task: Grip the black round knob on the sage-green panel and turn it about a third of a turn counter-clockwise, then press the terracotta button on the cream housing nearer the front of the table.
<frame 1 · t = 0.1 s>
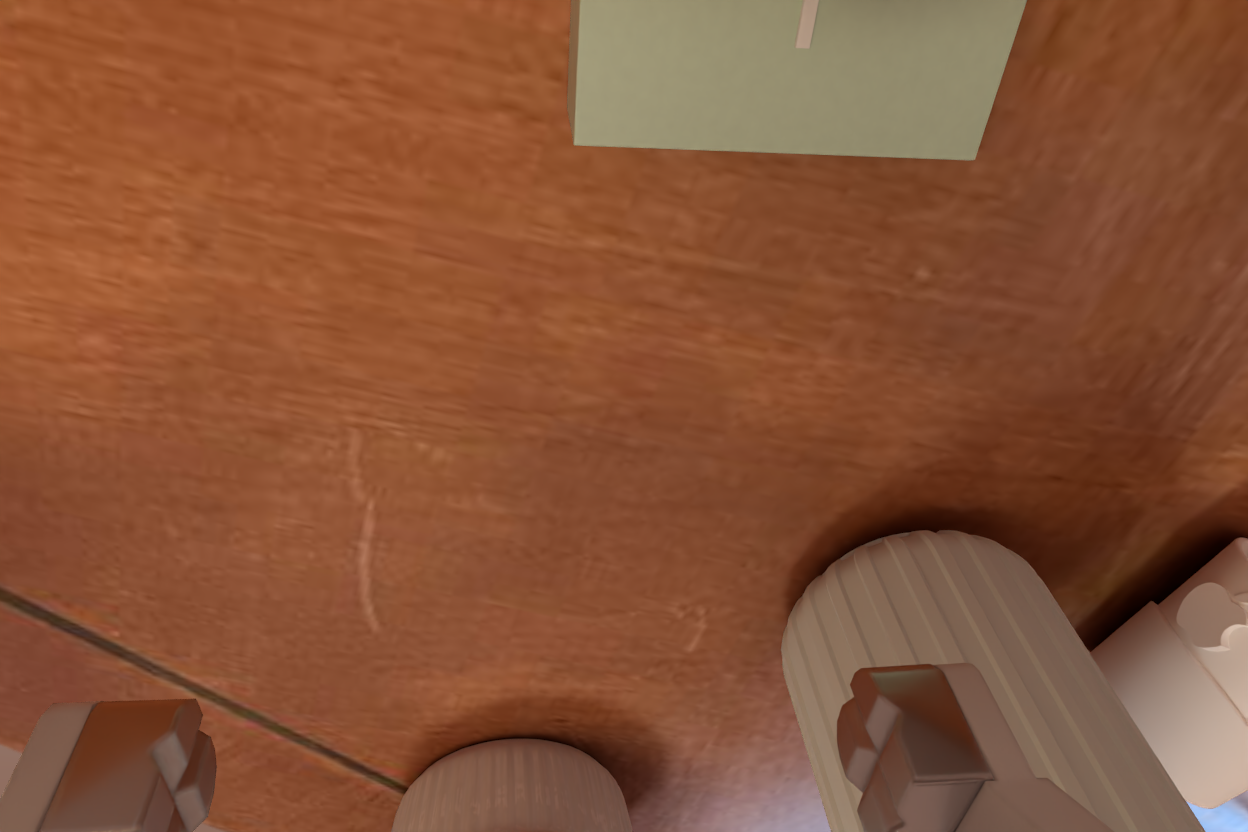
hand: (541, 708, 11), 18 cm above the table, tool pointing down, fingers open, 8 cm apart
vase: (890, 588, 39), on the table
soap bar: (1188, 606, 43), on the table
ramekin: (512, 789, 46), on the table
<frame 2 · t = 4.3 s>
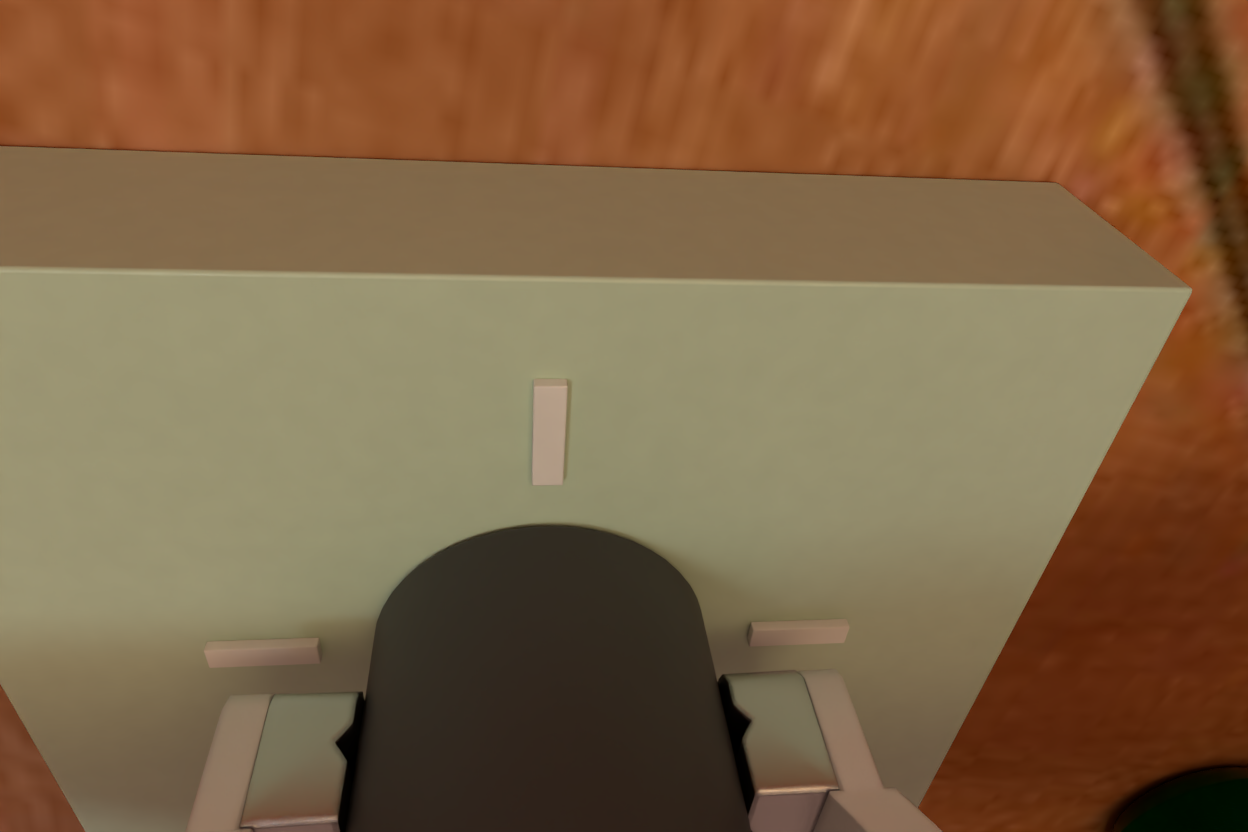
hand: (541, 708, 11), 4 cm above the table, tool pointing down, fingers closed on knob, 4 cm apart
soda can: (1185, 800, 24), on the table
panel: (535, 489, 14), on the table
knob: (548, 789, 10), point 5 cm above the table, hinge at 0.1°, touching gripper
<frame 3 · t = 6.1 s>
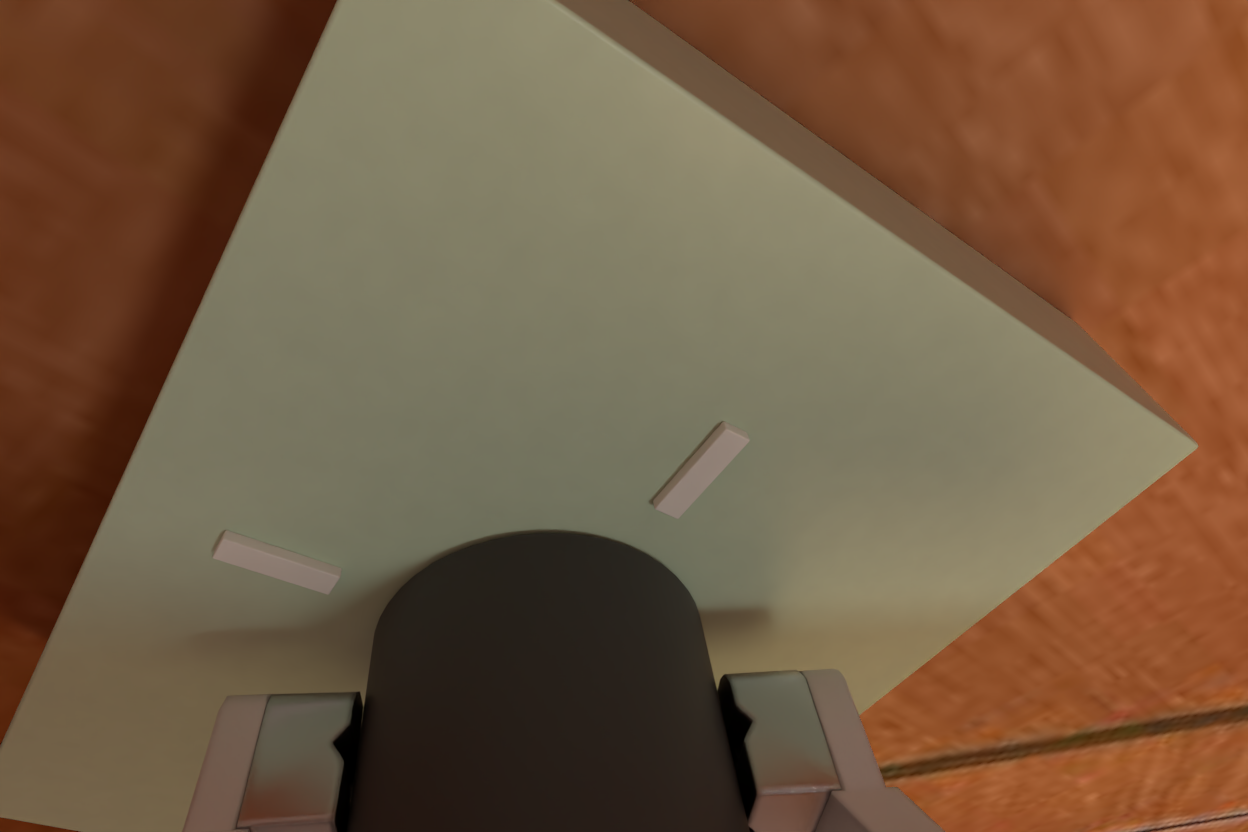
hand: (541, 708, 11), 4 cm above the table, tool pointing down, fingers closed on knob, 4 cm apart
panel: (533, 494, 14), on the table
knob: (547, 796, 10), point 5 cm above the table, hinge at 120.9°, touching gripper
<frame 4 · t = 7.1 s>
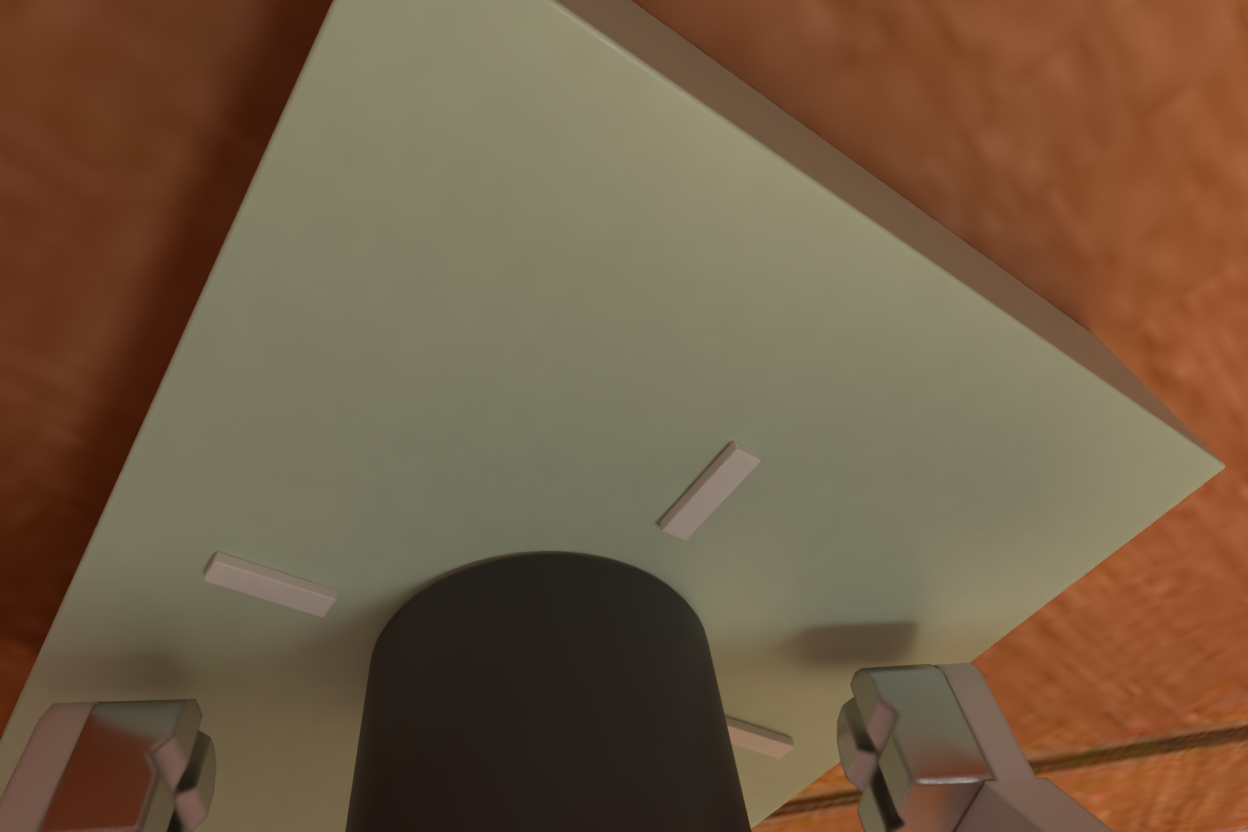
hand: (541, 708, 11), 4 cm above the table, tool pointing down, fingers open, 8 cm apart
panel: (536, 510, 14), on the table
knob: (549, 829, 10), point 5 cm above the table, hinge at 119.2°
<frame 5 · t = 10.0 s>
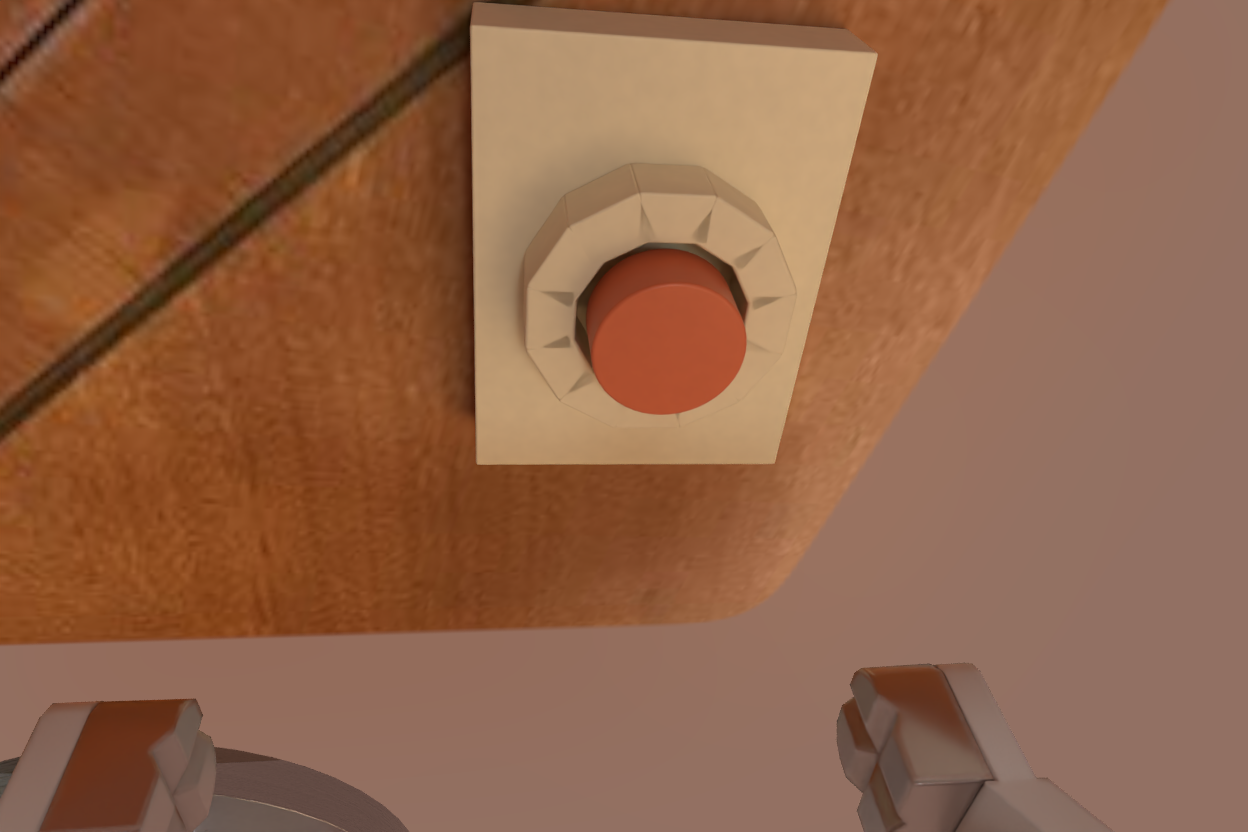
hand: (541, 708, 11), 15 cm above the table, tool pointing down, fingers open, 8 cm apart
button: (664, 333, 21), point 4 cm above the table, slide at 0.1 cm
button box: (640, 247, 24), on the table
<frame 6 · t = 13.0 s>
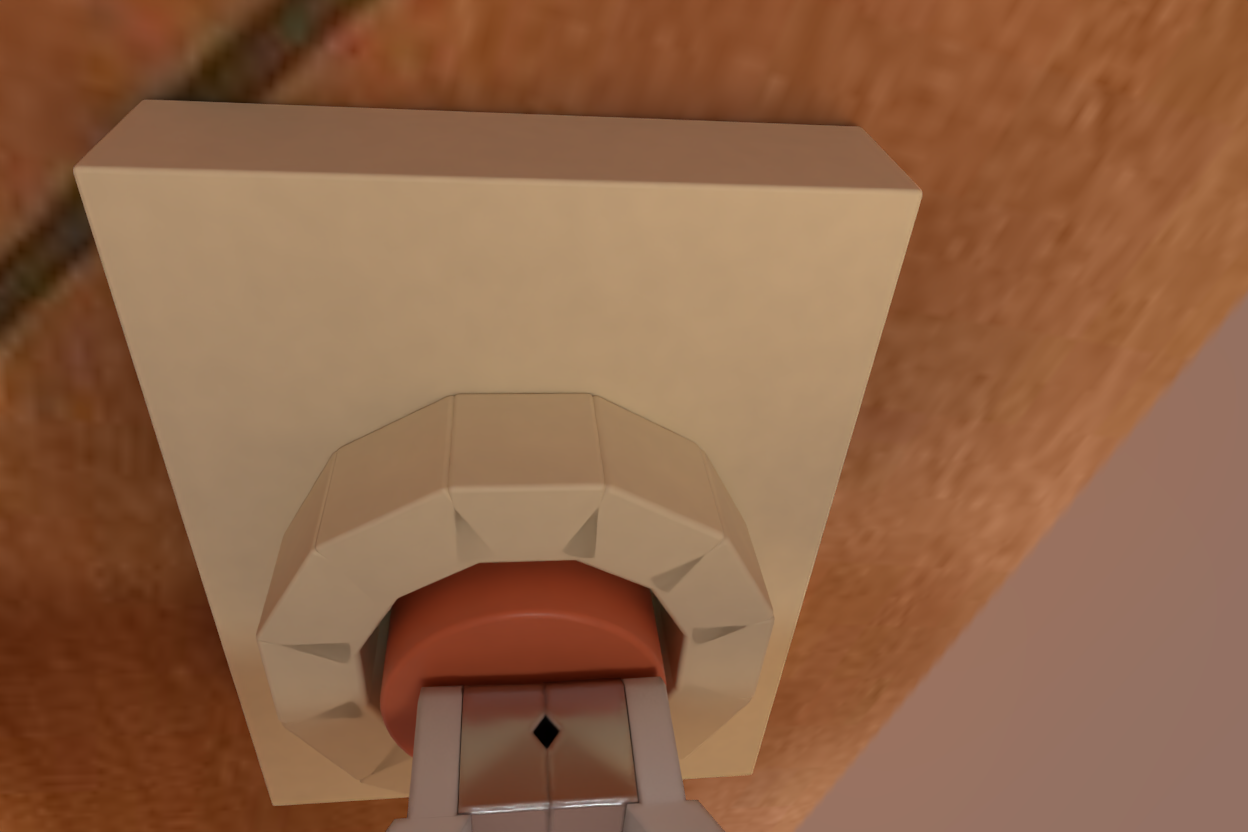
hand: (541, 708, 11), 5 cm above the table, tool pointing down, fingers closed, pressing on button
button: (524, 651, 12), point 4 cm above the table, slide at -0.7 cm, touching gripper
button box: (520, 473, 15), on the table
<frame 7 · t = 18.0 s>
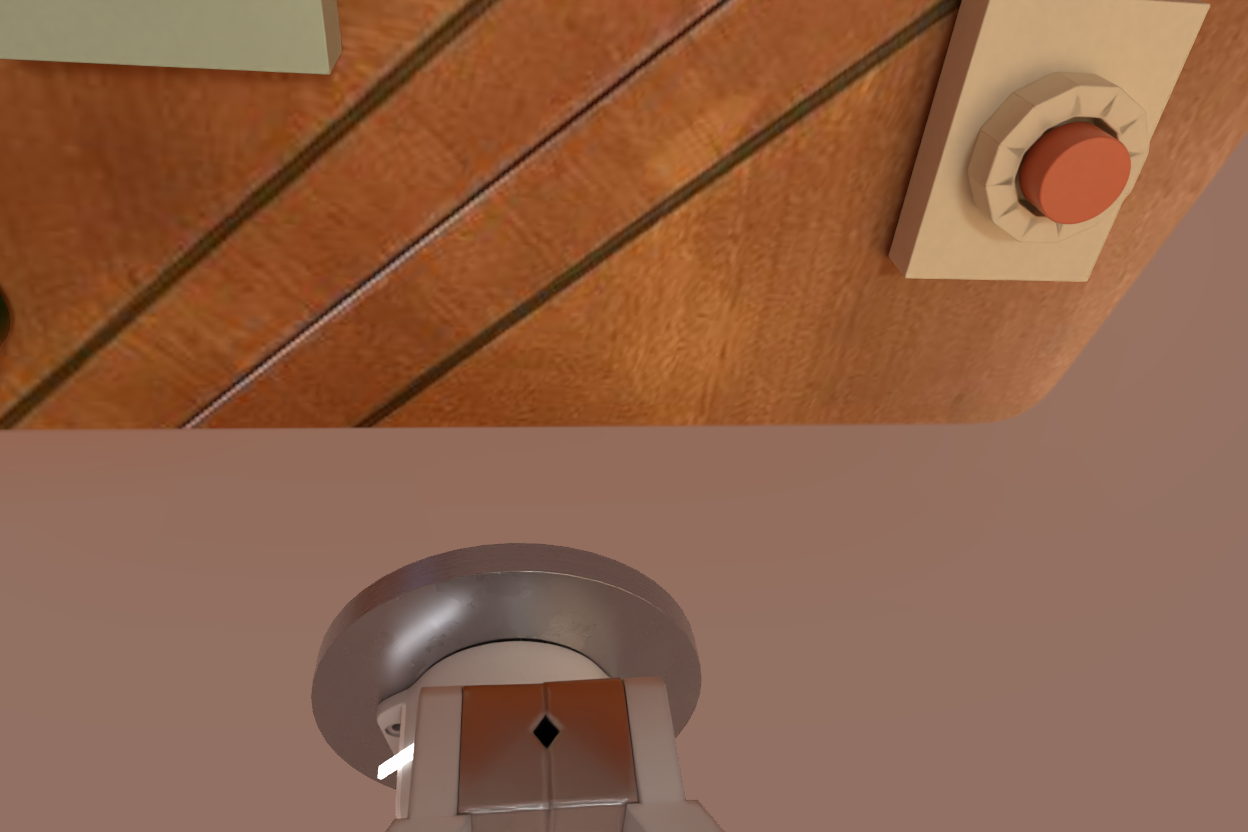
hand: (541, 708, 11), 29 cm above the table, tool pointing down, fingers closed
button: (1073, 173, 35), point 4 cm above the table, slide at 0.1 cm
button box: (1020, 134, 38), on the table
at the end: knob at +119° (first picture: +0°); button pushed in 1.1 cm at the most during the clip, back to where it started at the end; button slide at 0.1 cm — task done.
